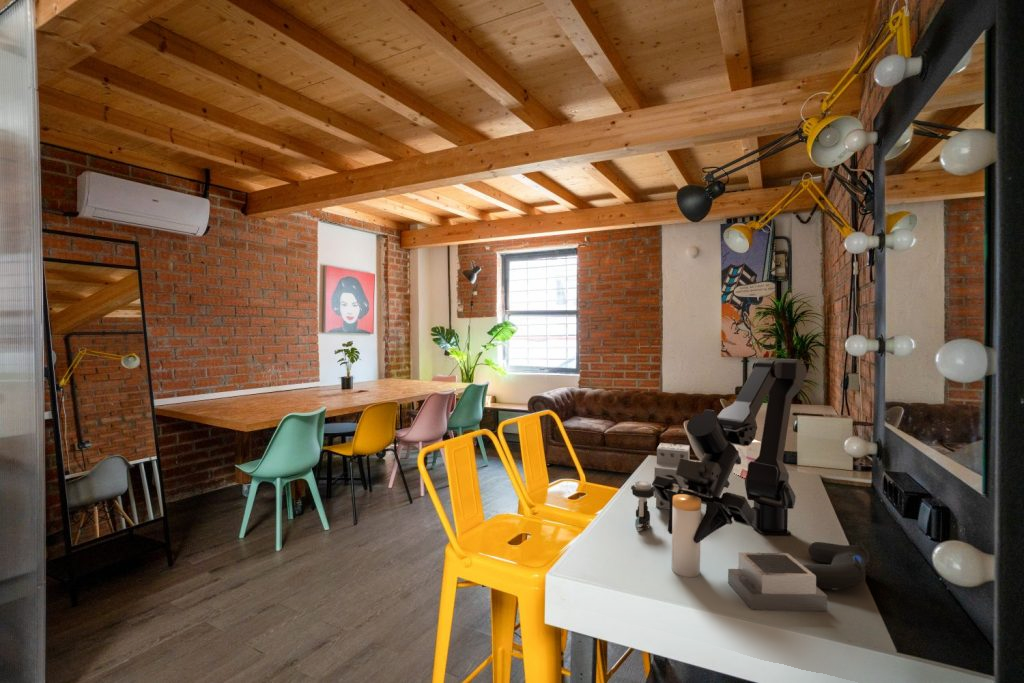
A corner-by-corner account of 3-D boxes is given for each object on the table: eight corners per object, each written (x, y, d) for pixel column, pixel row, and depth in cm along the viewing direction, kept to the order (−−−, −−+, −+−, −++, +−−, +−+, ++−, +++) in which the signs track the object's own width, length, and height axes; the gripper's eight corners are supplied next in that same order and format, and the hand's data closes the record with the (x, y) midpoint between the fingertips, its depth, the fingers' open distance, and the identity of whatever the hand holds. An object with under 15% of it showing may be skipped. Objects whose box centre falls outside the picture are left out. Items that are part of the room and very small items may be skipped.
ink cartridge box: (762, 480, 157) (763, 432, 157) (746, 480, 157) (747, 432, 157) (747, 472, 166) (748, 427, 166) (732, 473, 165) (733, 427, 165)
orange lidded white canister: (694, 564, 98) (695, 494, 98) (704, 577, 93) (705, 503, 93) (668, 564, 98) (669, 494, 98) (676, 576, 93) (677, 502, 93)
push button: (650, 535, 112) (651, 489, 112) (626, 530, 115) (627, 486, 115) (656, 525, 118) (657, 482, 118) (633, 521, 121) (634, 479, 121)
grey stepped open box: (796, 583, 91) (796, 552, 91) (826, 611, 82) (827, 576, 82) (728, 582, 91) (728, 551, 91) (751, 609, 82) (751, 575, 82)
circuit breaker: (653, 515, 125) (654, 453, 125) (659, 498, 139) (660, 442, 138) (685, 519, 122) (686, 456, 122) (688, 501, 136) (689, 445, 136)
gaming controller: (809, 605, 89) (870, 591, 83) (790, 571, 90) (849, 556, 85) (822, 571, 102) (876, 557, 96) (806, 542, 104) (857, 527, 98)
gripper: (658, 435, 105) (622, 499, 98) (747, 452, 90) (713, 528, 84) (679, 467, 110) (647, 530, 103) (768, 488, 95) (736, 563, 89)
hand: (682, 537), depth 95 cm, fingers closed on orange lidded white canister, 5 cm apart
